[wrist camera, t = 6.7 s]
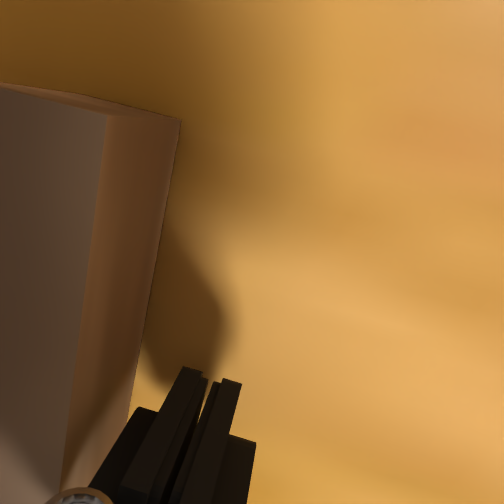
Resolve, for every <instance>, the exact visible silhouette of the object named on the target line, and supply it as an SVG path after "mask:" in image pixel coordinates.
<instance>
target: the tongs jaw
mask: <svg viewBox="0 0 504 504" xmlns="http://www.w3.org/2000/svg"><path fill="white" fill-rule="evenodd" d="M180 125H181V120H180V119H176V118H172V117H168V116H164V115H161V114H157V113H153V112H149V111H145V110H141V109H137V108H133V107H130V106H126V105H122V104H118V103H114V102H110V101H106V100H102V99H98V98H95V97H91V96H87V95H83V94H77V93H70V92H63V91H56V90H50V89H43V88H36V87H29V86H22V85H16V84H9V83H2V82H0V504H45V503H46V502H47V501H48V500H49V499H51V498H52V497H53V496H54V495H56V494H58V493H60V492H62V491H64V490H67V489H71V488H76V487H88V485H89V484H90V482H91V481H92V479H93V477H94V476H95V474H96V472H97V471H98V469H99V468H100V466H101V464H102V463H103V461H104V460H105V458H106V456H107V455H108V453H109V452H110V450H111V448H112V447H113V445H114V444H115V442H116V440H117V439H118V437H119V435H120V434H121V432H122V431H123V429H124V427H125V426H126V423H127V417H128V412H129V406H130V401H131V395H132V389H133V384H134V378H135V373H136V367H137V362H138V356H139V351H140V345H141V340H142V334H143V329H144V323H145V318H146V312H147V307H148V301H149V296H150V290H151V285H152V279H153V274H154V268H155V263H156V257H157V252H158V246H159V241H160V235H161V230H162V224H163V219H164V213H165V208H166V202H167V197H168V191H169V186H170V180H171V175H172V169H173V164H174V158H175V153H176V147H177V142H178V136H179V131H180Z"/></svg>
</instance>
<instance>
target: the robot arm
mask: <svg viewBox="0 0 504 504" xmlns="http://www.w3.org/2000/svg"><path fill="white" fill-rule="evenodd" d="M202 374H203V372H201V371H198V370H195V369H191V368H188V367H185V366H183V367H182V369H181V371H180V373H179V375H178V377H177V378H176V380H175V382H174V384H173V386H172V388H171V390H170V392H169V393H168V395H167V397H166V399H165V401H164V403H163V405H162V407H161V408H160V410H159V412H155V411H152V410H149V409H146V408H142V407H138V408H137V409H136V410H135V411H134V413H133V415H132V416H131V418H130V419H129V421H128V423H127V424H126V426H125V427H124V429H123V431H122V432H121V434H120V435H119V437H118V439H117V440H116V442H115V444H114V445H113V447H112V448H111V450H110V452H109V453H108V455H107V456H106V458H105V460H104V461H103V463H102V464H101V466H100V468H99V469H98V471H97V472H96V474H95V476H94V477H93V479H92V481H91V482H90V484H89V485H88V487H76V488H71V489H67V490H64V491H62V492H60V493H58V494H56V495H54V496H53V497H52V498H51V499H49V500H48V501H47V502H46V503H45V504H247V498H248V492H249V486H250V480H251V474H252V468H253V462H254V456H255V450H256V442H253V441H250V440H246V439H243V438H240V437H237V436H233V435H230V434H229V431H230V428H231V424H232V420H233V416H234V413H235V409H236V405H237V401H238V397H239V394H240V390H241V386H242V384H241V383H238V382H235V381H231V380H228V379H225V378H223V379H222V382H221V383H219V382H215V381H214V382H213V385H212V387H211V390H210V392H209V395H208V398H207V400H206V403H205V406H204V408H203V411H202V413H201V416H200V419H199V415H200V412H201V408H202V404H203V400H204V396H205V392H206V388H207V384H208V379H205V378H202ZM198 419H199V421H198ZM197 423H198V424H197Z"/></svg>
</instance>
